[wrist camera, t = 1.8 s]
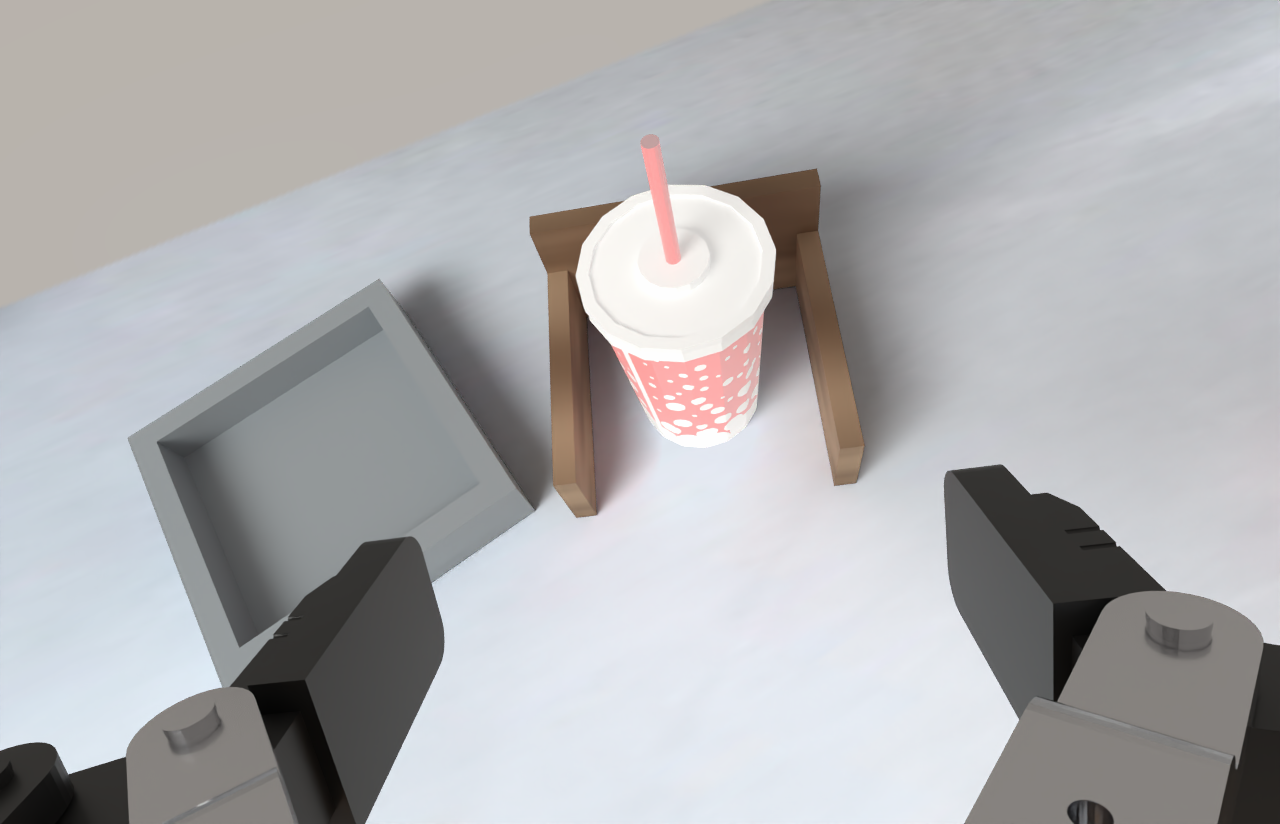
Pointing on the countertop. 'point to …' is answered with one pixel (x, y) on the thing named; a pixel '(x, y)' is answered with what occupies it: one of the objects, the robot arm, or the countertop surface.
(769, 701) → the countertop surface
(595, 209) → the walnut bay
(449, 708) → the countertop surface
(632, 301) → the beverage cup
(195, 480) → the grey tray
